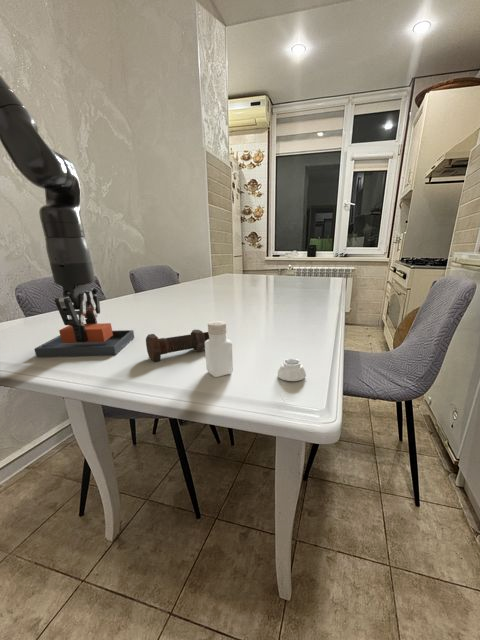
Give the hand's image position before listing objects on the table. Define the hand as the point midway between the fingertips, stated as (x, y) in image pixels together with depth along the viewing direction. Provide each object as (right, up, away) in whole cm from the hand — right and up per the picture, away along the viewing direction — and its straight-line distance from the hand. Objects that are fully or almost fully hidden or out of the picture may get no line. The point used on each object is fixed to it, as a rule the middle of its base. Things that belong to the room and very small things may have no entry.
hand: (88, 337), depth 67 cm
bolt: (+23, -4, -3) cm, 24 cm away
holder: (0, -2, +1) cm, 2 cm away
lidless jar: (+45, -8, -15) cm, 48 cm away
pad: (0, 0, 0) cm, 0 cm away
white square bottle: (+32, -7, -13) cm, 35 cm away
